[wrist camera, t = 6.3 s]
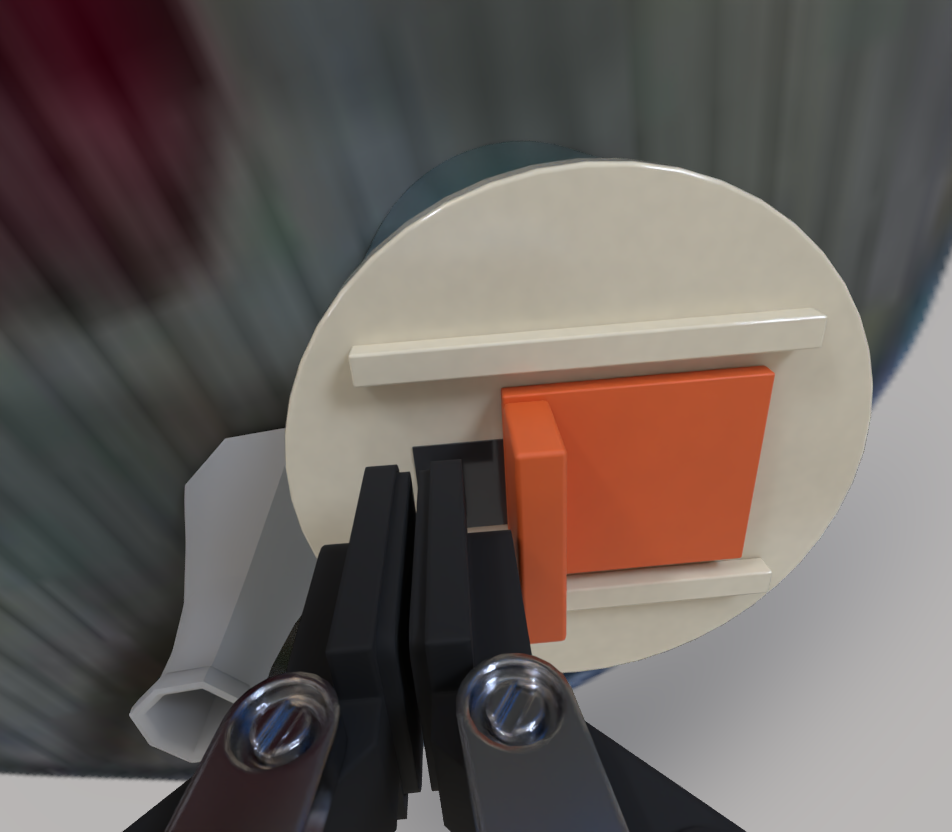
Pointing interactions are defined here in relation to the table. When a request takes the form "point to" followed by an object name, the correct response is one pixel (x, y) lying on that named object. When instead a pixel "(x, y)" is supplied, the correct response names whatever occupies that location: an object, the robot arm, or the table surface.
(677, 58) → the table surface
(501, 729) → the robot arm
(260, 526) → the flask
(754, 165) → the table surface
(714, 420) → the slider
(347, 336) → the sliding lid canister
